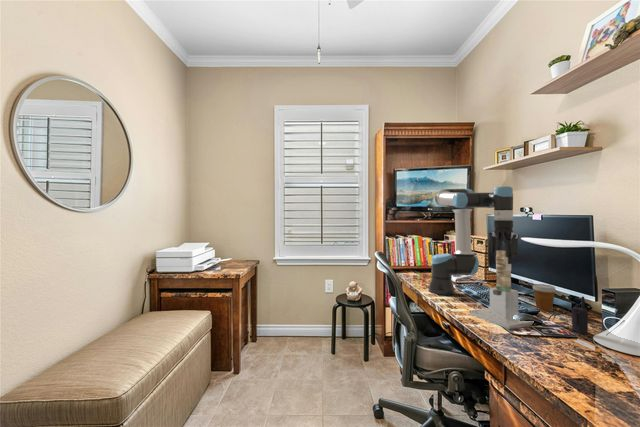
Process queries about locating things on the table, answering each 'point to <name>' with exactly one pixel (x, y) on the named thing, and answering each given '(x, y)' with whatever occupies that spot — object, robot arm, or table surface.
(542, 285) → the disposable coffee cup
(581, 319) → the two-way radio
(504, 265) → the post
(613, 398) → the table surface
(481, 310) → the stand
